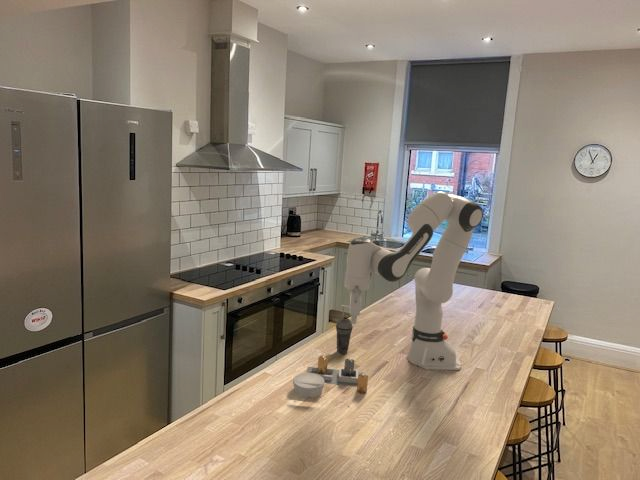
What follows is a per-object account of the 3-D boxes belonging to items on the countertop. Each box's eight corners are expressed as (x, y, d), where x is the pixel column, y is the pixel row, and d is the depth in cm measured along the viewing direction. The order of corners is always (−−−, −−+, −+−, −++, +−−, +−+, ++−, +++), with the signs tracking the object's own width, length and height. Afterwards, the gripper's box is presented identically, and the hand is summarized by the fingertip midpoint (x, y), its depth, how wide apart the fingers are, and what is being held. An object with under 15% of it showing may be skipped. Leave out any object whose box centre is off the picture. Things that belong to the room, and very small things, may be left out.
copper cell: (366, 392, 170) (368, 372, 169) (366, 397, 167) (368, 377, 165) (356, 391, 171) (358, 371, 169) (356, 396, 167) (358, 376, 166)
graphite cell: (353, 376, 179) (354, 357, 178) (352, 380, 176) (354, 361, 174) (343, 375, 179) (345, 356, 178) (343, 379, 176) (344, 360, 175)
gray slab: (363, 375, 183) (364, 367, 183) (364, 390, 172) (364, 382, 171) (307, 369, 185) (308, 361, 184) (304, 384, 173) (304, 375, 172)
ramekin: (300, 404, 159) (301, 390, 158) (287, 389, 169) (287, 375, 168) (329, 398, 164) (330, 384, 163) (314, 383, 174) (315, 370, 173)
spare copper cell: (326, 373, 180) (328, 354, 178) (326, 377, 176) (327, 359, 175) (317, 372, 180) (318, 354, 179) (316, 376, 177) (318, 358, 175)
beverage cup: (349, 356, 199) (353, 311, 196) (332, 354, 201) (336, 309, 197) (351, 350, 206) (355, 306, 203) (335, 347, 208) (338, 304, 204)
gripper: (366, 291, 160) (362, 330, 163) (365, 276, 181) (361, 311, 183) (347, 289, 161) (344, 328, 163) (348, 275, 181) (345, 309, 183)
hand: (353, 318), depth 173 cm, fingers open, 8 cm apart
